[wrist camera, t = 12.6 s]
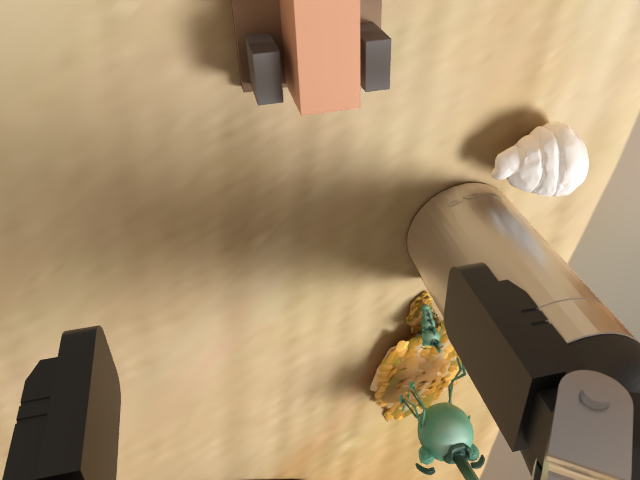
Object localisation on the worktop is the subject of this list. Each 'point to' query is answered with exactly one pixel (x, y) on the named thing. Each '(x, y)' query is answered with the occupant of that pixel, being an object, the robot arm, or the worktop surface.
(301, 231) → the worktop surface
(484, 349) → the robot arm
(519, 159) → the garlic bulb
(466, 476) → the frog figurine
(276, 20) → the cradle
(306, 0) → the terracotta clay brick
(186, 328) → the worktop surface
